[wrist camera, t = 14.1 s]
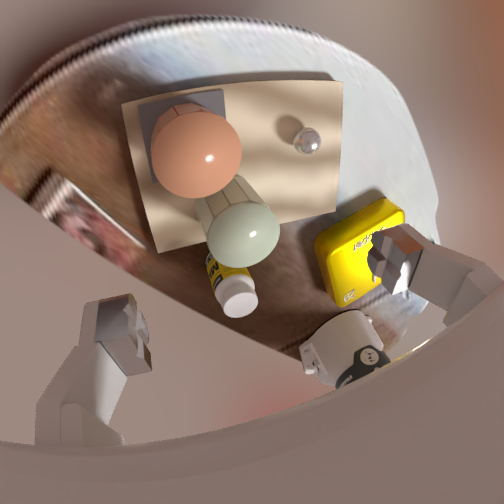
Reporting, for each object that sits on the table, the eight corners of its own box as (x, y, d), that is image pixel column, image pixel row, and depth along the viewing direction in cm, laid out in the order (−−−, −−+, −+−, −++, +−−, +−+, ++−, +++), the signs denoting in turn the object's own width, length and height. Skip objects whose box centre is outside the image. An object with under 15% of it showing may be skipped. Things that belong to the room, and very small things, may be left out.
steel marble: (312, 149, 29) (326, 157, 27) (288, 152, 29) (300, 160, 26) (312, 123, 27) (327, 129, 25) (287, 125, 27) (300, 131, 25)
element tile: (387, 192, 40) (407, 206, 36) (389, 255, 49) (405, 270, 46) (309, 236, 39) (326, 255, 36) (326, 295, 49) (339, 313, 46)
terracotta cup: (222, 160, 27) (244, 188, 21) (159, 174, 25) (162, 207, 20) (216, 98, 23) (238, 106, 17) (147, 111, 21) (144, 123, 16)
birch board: (329, 206, 37) (335, 211, 36) (157, 246, 32) (158, 253, 31) (335, 80, 26) (342, 81, 25) (123, 103, 21) (121, 104, 20)
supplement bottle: (206, 245, 34) (222, 291, 28) (242, 243, 36) (265, 287, 29) (203, 275, 37) (218, 322, 30) (237, 273, 38) (257, 317, 32)
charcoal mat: (230, 165, 28) (230, 166, 27) (153, 182, 26) (152, 183, 26) (222, 89, 23) (223, 89, 22) (137, 105, 21) (137, 105, 21)
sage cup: (254, 220, 32) (279, 258, 27) (200, 232, 31) (214, 275, 25) (251, 168, 29) (279, 197, 23) (190, 180, 27) (203, 214, 21)
